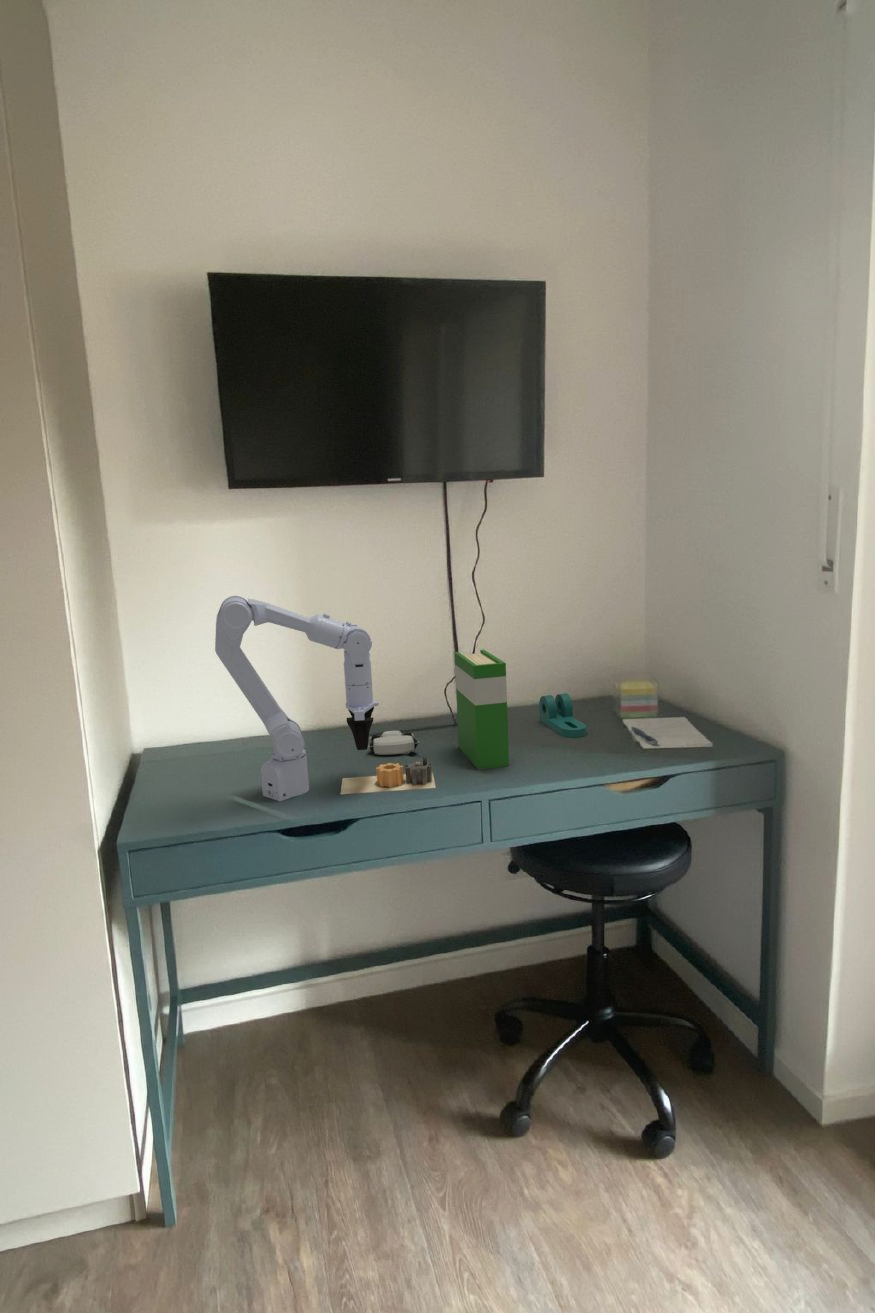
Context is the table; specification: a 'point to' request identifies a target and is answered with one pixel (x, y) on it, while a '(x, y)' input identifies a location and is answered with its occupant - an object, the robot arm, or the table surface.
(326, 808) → the table surface
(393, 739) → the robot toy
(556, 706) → the bracket
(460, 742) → the hardback book
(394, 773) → the orange gear
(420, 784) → the gear board
